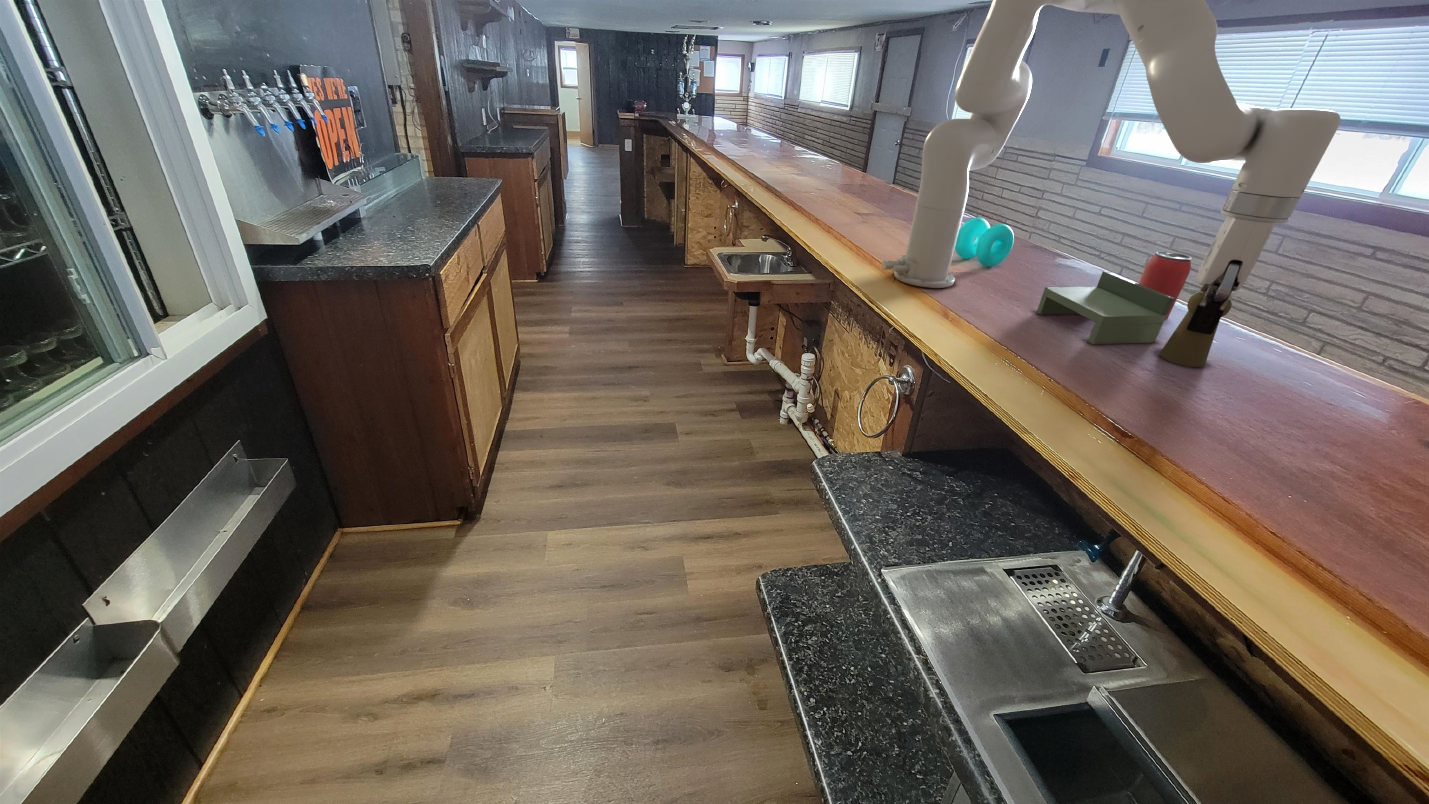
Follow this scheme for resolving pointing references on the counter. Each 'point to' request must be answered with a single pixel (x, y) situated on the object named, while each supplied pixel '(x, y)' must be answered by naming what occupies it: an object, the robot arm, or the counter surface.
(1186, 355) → the cork
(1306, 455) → the counter surface
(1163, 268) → the beer can
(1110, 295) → the shelf
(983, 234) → the turquoise spool
